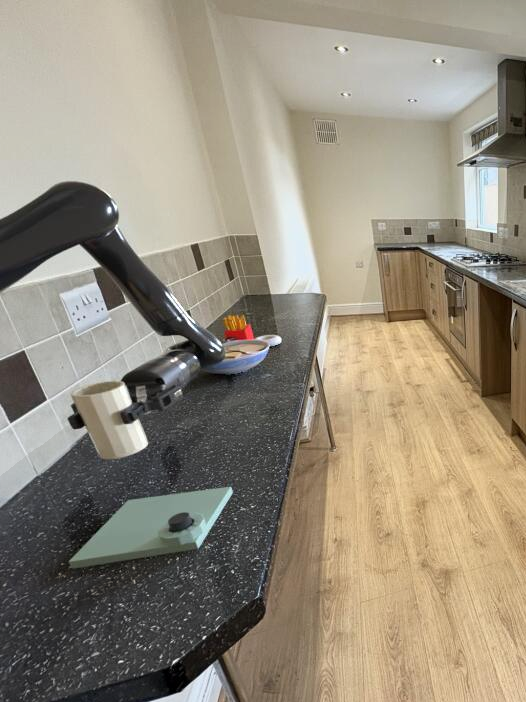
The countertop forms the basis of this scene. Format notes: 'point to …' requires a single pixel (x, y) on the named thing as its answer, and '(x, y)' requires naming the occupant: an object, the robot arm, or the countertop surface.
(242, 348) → the ramen bowl
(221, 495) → the scale
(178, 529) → the button
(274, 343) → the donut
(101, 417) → the cup
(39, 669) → the countertop surface
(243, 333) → the french fries container
